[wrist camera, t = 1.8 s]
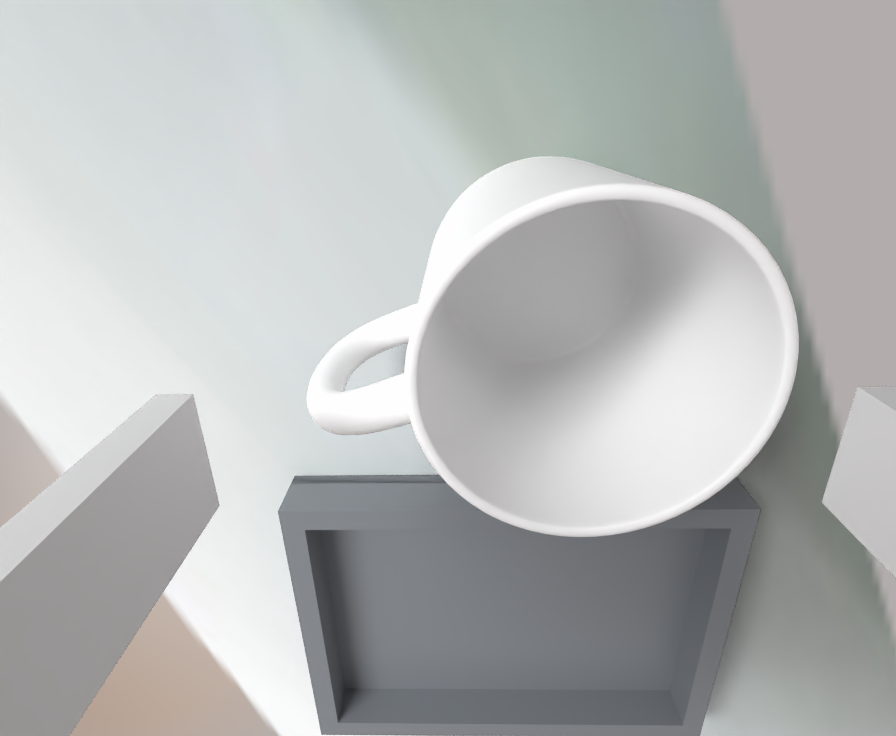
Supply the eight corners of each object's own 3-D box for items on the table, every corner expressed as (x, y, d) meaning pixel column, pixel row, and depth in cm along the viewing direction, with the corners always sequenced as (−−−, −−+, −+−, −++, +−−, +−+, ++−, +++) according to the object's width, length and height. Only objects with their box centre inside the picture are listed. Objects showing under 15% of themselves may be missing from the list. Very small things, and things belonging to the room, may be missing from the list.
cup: (661, 337, 22) (807, 496, 12) (382, 410, 23) (330, 597, 14) (627, 122, 18) (792, 121, 9) (307, 224, 20) (177, 310, 11)
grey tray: (294, 476, 25) (278, 511, 23) (732, 473, 24) (761, 509, 22) (331, 690, 31) (321, 734, 29) (681, 692, 31) (699, 737, 28)
